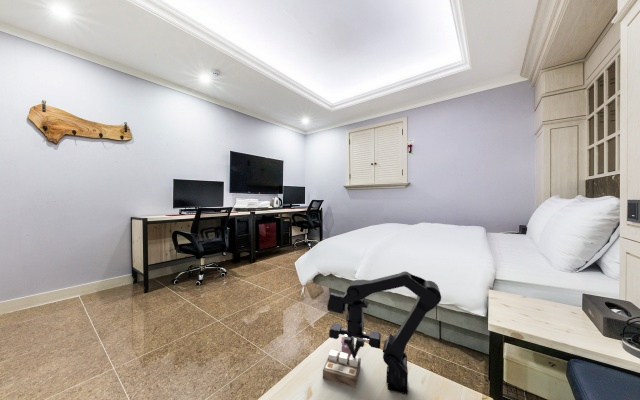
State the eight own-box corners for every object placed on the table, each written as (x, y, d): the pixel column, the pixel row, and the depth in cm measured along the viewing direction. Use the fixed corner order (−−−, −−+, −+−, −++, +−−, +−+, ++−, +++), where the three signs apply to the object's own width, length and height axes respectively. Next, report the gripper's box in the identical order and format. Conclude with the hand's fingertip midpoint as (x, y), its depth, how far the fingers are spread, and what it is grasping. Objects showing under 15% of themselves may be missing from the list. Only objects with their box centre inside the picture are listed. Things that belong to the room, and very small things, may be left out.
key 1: (338, 357, 88) (338, 351, 88) (336, 362, 85) (336, 356, 85) (330, 355, 89) (330, 349, 89) (328, 360, 86) (328, 354, 86)
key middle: (348, 360, 87) (348, 353, 87) (346, 365, 84) (346, 359, 84) (340, 358, 88) (340, 351, 88) (338, 363, 85) (338, 357, 85)
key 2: (358, 362, 86) (358, 356, 86) (357, 368, 83) (357, 361, 83) (350, 360, 86) (350, 354, 86) (349, 366, 84) (349, 359, 84)
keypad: (360, 365, 87) (360, 357, 87) (356, 387, 77) (356, 378, 77) (330, 358, 91) (330, 350, 91) (322, 378, 81) (322, 369, 81)
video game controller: (345, 349, 99) (339, 334, 99) (355, 345, 98) (348, 330, 99) (346, 366, 89) (338, 349, 89) (357, 361, 88) (349, 345, 89)
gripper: (382, 310, 89) (381, 349, 89) (336, 302, 95) (335, 339, 95) (380, 325, 78) (379, 369, 79) (328, 315, 84) (328, 356, 85)
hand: (354, 357), depth 85 cm, fingers closed
